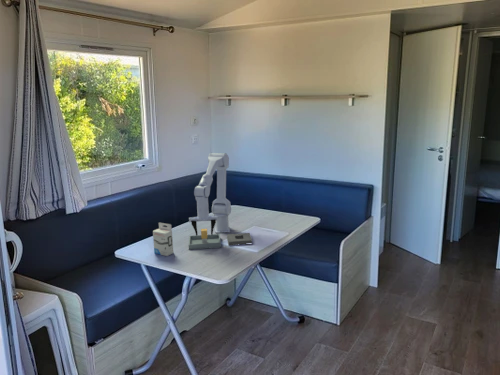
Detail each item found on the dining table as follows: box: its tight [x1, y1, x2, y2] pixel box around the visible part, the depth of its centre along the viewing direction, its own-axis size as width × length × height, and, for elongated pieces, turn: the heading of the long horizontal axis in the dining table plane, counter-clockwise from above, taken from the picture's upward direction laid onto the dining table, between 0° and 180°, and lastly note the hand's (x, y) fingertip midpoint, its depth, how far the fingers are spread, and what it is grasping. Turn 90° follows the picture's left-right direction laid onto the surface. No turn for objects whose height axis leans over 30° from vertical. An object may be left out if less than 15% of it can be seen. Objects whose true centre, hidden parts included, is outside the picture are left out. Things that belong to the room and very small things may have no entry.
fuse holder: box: [226, 232, 253, 246], centre depth 230 cm, size 12×12×2 cm
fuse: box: [200, 228, 208, 243], centre depth 226 cm, size 4×3×7 cm
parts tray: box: [188, 233, 222, 250], centre depth 227 cm, size 14×16×2 cm
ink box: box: [152, 222, 174, 257], centre depth 214 cm, size 8×5×15 cm, turn 60°
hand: (204, 234), depth 226 cm, fingers open, 7 cm apart
